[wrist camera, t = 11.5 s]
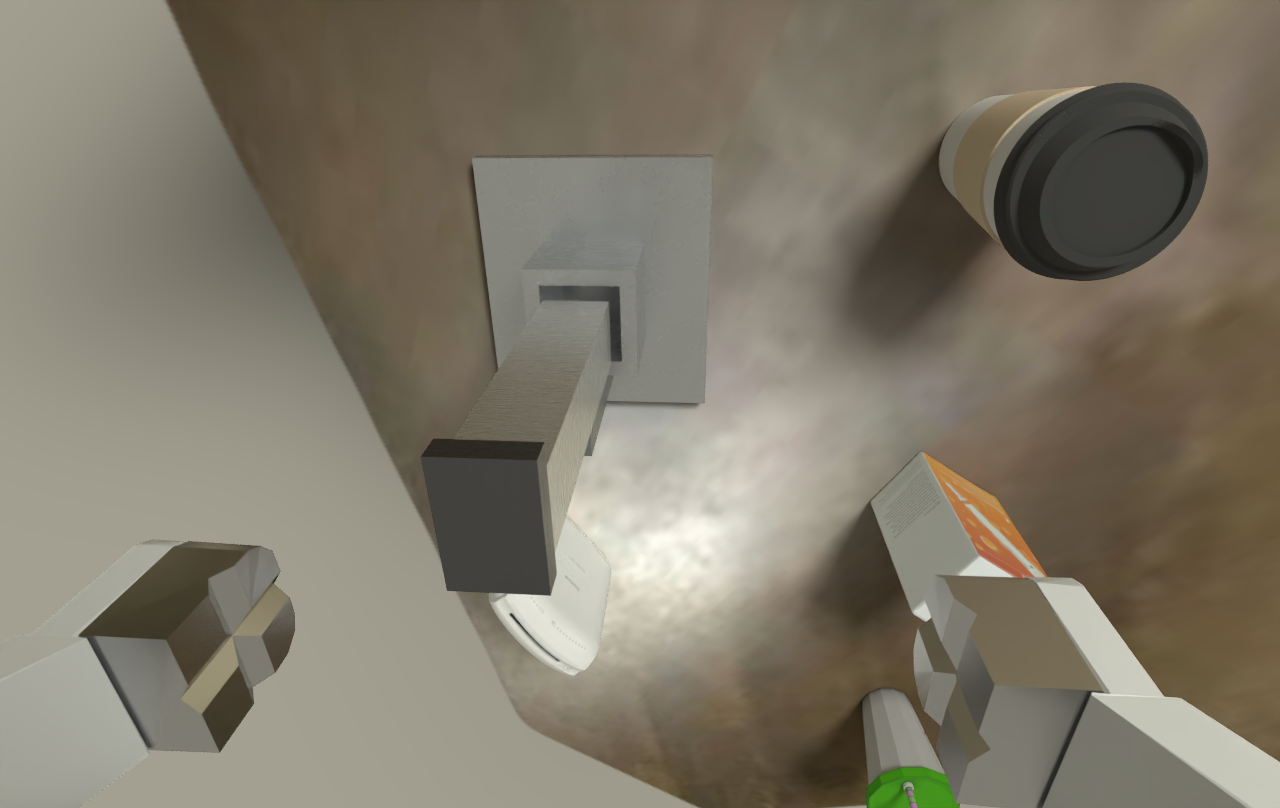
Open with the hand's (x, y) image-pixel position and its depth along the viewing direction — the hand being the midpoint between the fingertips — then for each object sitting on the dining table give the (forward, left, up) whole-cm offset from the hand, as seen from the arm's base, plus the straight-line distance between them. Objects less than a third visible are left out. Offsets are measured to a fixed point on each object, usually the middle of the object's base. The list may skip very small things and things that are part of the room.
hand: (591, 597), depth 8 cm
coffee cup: (0, +20, -41) cm, 46 cm away
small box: (+27, +21, -41) cm, 54 cm away
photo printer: (+33, -10, -41) cm, 54 cm away
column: (+9, -6, -32) cm, 33 cm away
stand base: (+9, -6, -41) cm, 42 cm away
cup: (+52, +21, -41) cm, 70 cm away
